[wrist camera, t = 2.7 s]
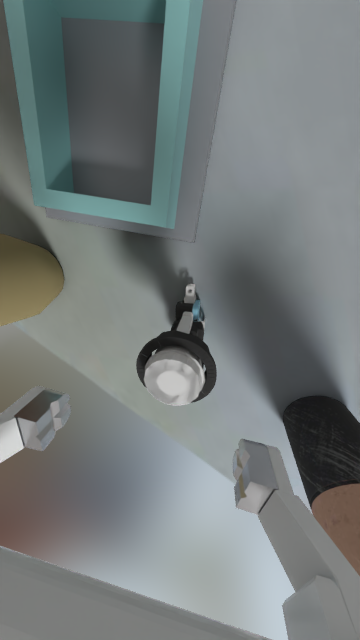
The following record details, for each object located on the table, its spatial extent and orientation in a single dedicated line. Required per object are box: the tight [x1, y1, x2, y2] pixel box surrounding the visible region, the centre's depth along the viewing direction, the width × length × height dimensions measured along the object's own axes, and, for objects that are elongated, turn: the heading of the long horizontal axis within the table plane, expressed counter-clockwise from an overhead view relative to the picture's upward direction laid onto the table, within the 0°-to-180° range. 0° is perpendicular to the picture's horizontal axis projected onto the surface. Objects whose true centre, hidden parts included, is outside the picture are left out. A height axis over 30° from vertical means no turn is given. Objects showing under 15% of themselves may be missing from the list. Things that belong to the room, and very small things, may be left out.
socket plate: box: [3, 0, 236, 243], centre depth 13 cm, size 14×14×4 cm
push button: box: [136, 284, 216, 406], centre depth 16 cm, size 7×5×10 cm
